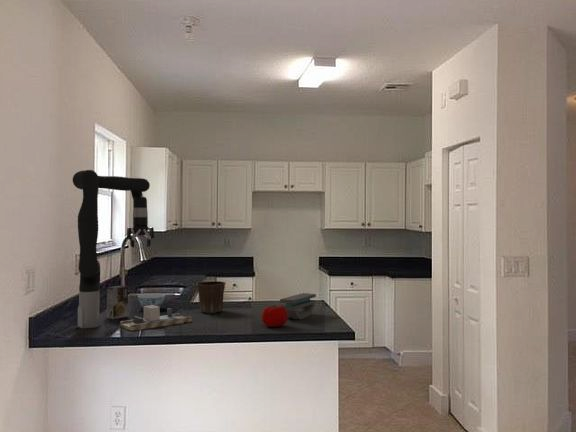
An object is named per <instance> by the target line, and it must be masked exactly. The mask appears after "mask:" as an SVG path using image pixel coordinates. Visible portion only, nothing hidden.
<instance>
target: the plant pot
mask: <svg viewBox="0 0 576 432" xmlns="http://www.w3.org/2000/svg"><path fill="white" fill-rule="evenodd" d="M226 283H227V282H225V281H217V280H215V281H212V280H211V281H201V282H196V286H197V291H198V300H199V307H200V308H199V311H200V313H202V312H203V313H202V314H210V313H211V314H217V313H216V312H219V313H222V312H223V306H224V305H223V304H224V292H225V288H226ZM204 312H205V313H204Z"/></svg>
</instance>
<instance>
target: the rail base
mask: <svg viewBox="0 0 576 432" xmlns="http://www.w3.org/2000/svg"><path fill="white" fill-rule="evenodd" d="M172 316H174V317H177V318H176V319H169V320H162V321H155V322H148V323H143V318H144V317H140V316H137V315H134V316H133V319H128V320H121V321H120V320H119V321H120V322H119V328H121V329H125V330H129V331H131V332H132V331H140V330H146V329H154V328H159V327H166V326H172V325H173V324H174V325H177V324H178V325H180V324H185V323H184V322H187V323H192V322H191V321H193V320H192V316H183V315H181V313H172ZM179 323H180V324H179Z"/></svg>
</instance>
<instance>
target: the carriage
mask: <svg viewBox="0 0 576 432" xmlns="http://www.w3.org/2000/svg"><path fill="white" fill-rule="evenodd" d="M166 309H167V310H166V311H167V314H166V315H165V314H163V315H160V319H158V320H151V321H150V320H147V319H144V317H142V318H143V323H148V322H155V321H162V320H169V319H176V318H177V317H174V316H172V314H173V308H172V307H171V308H170V307H169V308H166Z"/></svg>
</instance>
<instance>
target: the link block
mask: <svg viewBox="0 0 576 432" xmlns="http://www.w3.org/2000/svg"><path fill="white" fill-rule="evenodd" d="M160 308H161V307H160V306H159V307H158V306H154V305H150V306H144V307H143V318H144V319H147V320H150V321H151V320H158V319H160V316H161V314H160V313H161V312H160V311H161V309H160Z"/></svg>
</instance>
